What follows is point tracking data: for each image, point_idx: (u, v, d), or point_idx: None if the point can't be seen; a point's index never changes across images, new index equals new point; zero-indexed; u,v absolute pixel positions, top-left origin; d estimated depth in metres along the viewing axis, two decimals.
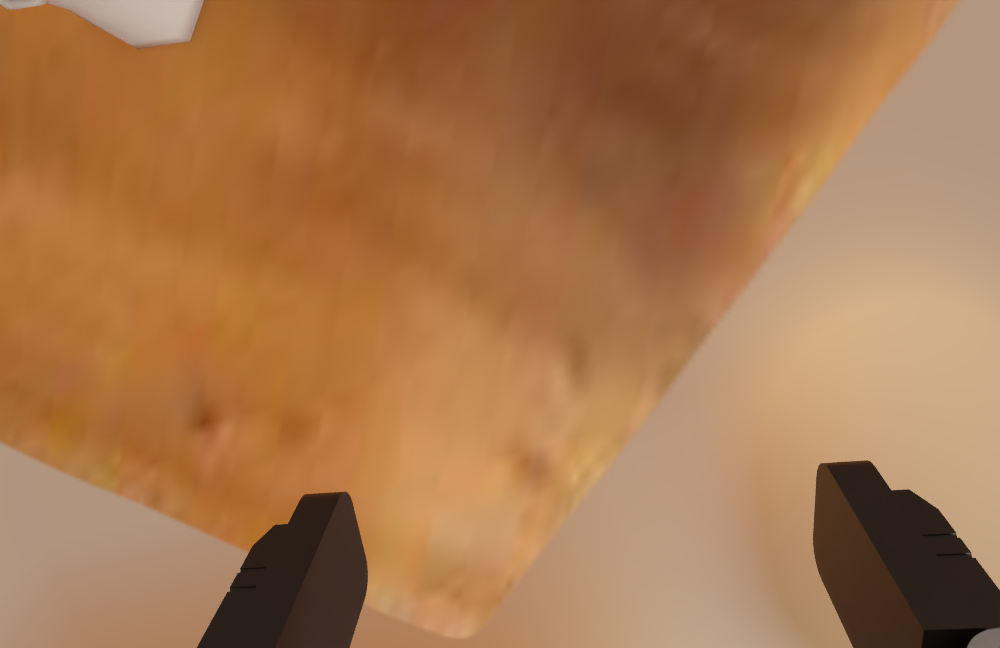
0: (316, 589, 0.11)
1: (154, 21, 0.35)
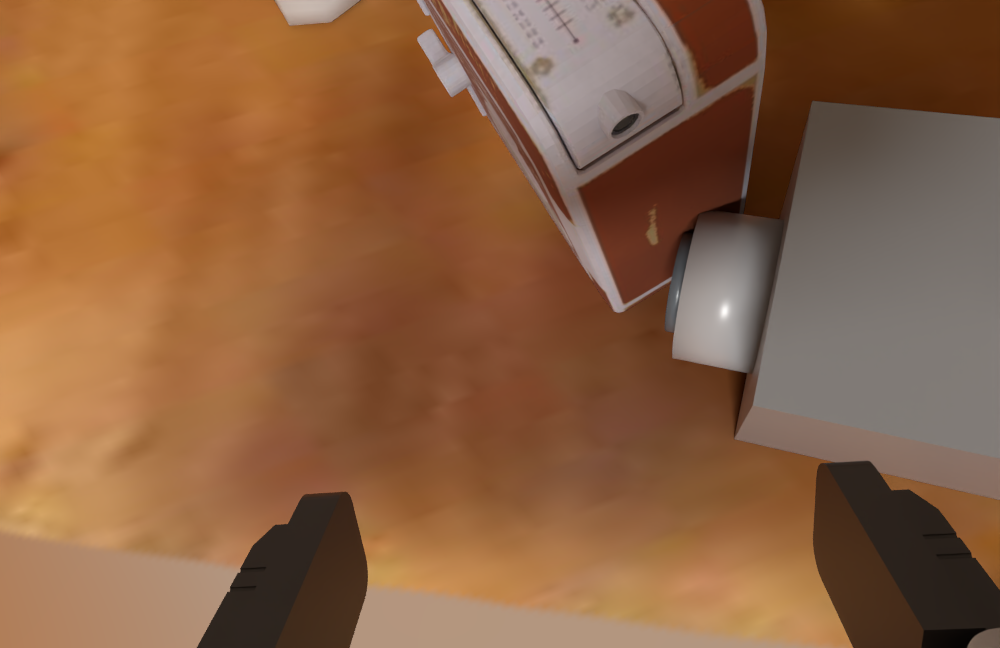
0: (316, 589, 0.11)
1: None
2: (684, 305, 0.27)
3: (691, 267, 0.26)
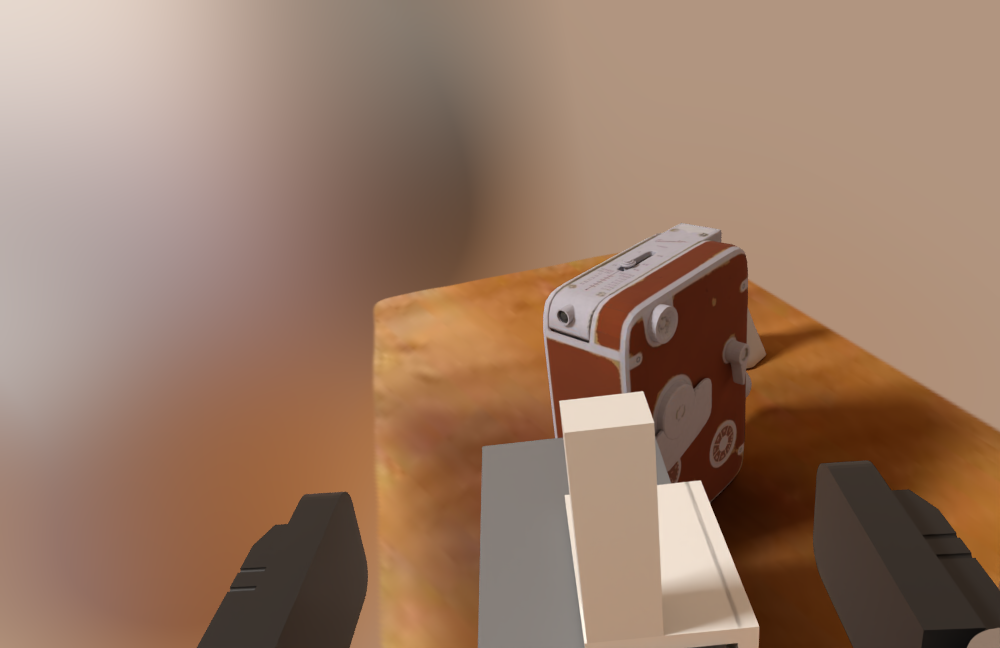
0: (316, 588, 0.11)
1: None
2: None
3: None
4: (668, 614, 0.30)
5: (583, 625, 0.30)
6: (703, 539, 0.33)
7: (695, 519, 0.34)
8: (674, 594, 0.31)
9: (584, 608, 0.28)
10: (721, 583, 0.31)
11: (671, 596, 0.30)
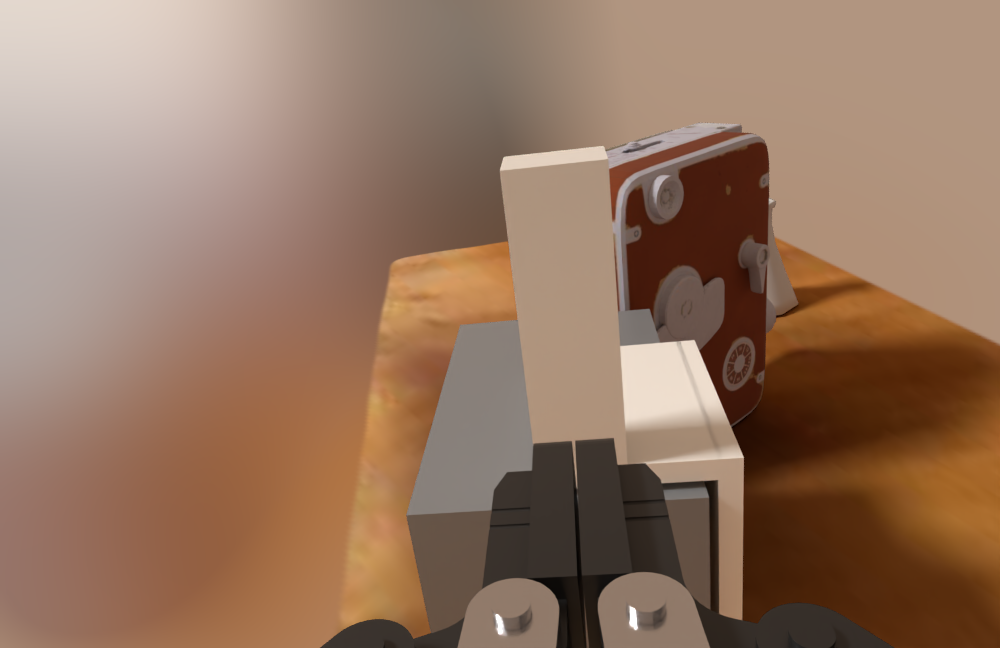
0: (576, 526, 0.12)
1: None
2: None
3: None
4: (636, 447, 0.25)
5: None
6: (689, 386, 0.28)
7: (682, 370, 0.30)
8: (647, 430, 0.26)
9: (531, 421, 0.24)
10: (704, 421, 0.26)
11: (643, 432, 0.26)
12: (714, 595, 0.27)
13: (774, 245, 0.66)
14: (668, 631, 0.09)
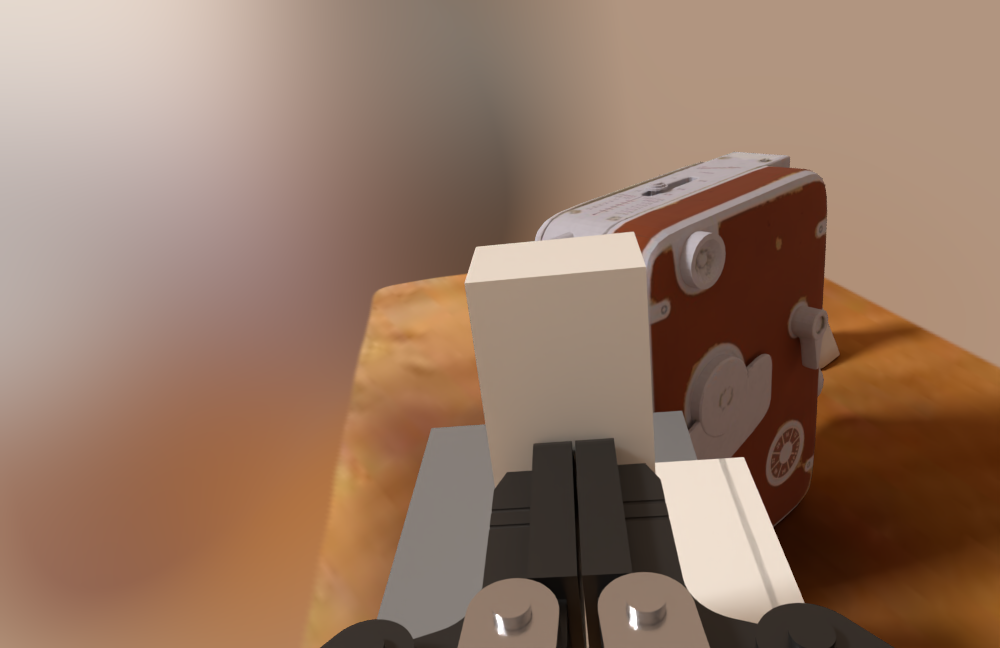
0: (576, 526, 0.12)
1: None
2: None
3: None
4: None
5: None
6: (745, 543, 0.20)
7: (733, 512, 0.21)
8: None
9: None
10: None
11: None
12: None
13: None
14: (668, 631, 0.09)
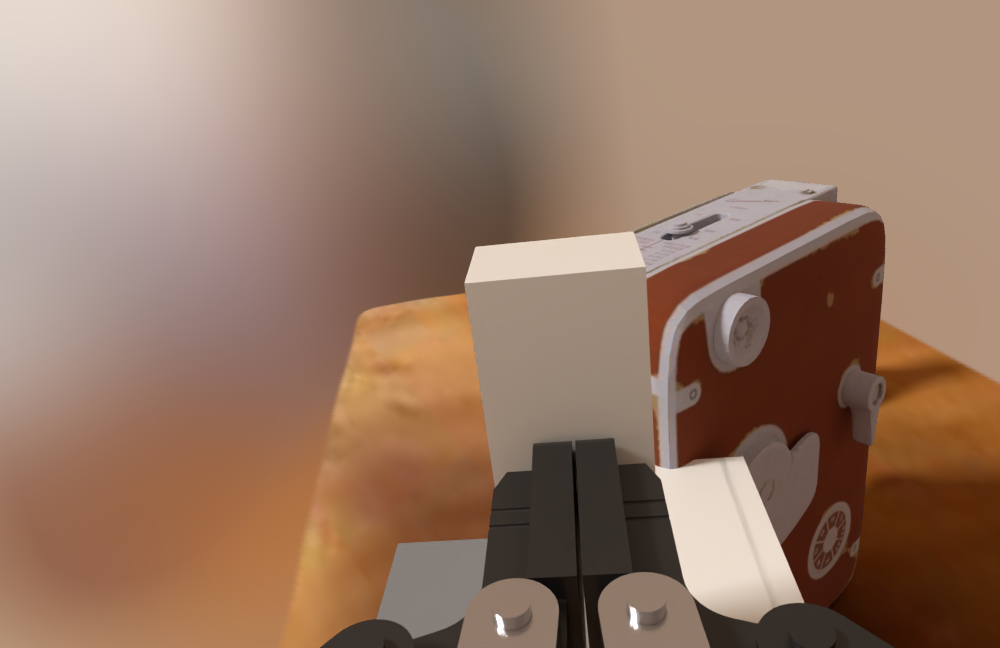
0: (576, 526, 0.12)
1: None
2: None
3: None
4: None
5: None
6: (744, 542, 0.20)
7: (732, 511, 0.21)
8: None
9: None
10: None
11: None
12: None
13: None
14: (668, 631, 0.09)
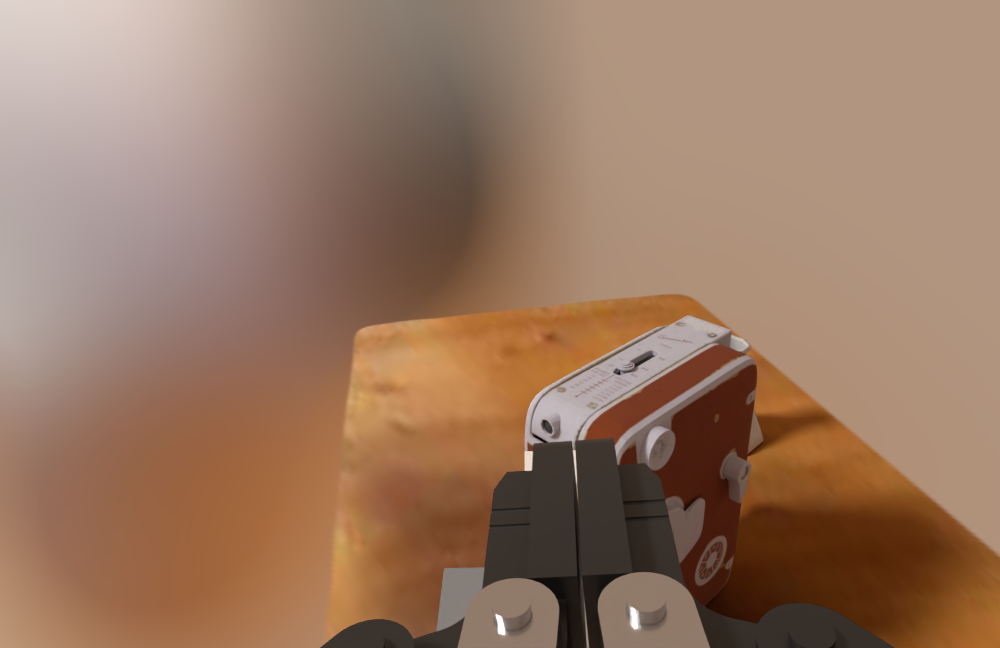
0: (576, 526, 0.12)
1: None
2: None
3: None
4: None
5: None
6: None
7: None
8: None
9: None
10: None
11: None
12: None
13: None
14: (668, 631, 0.09)
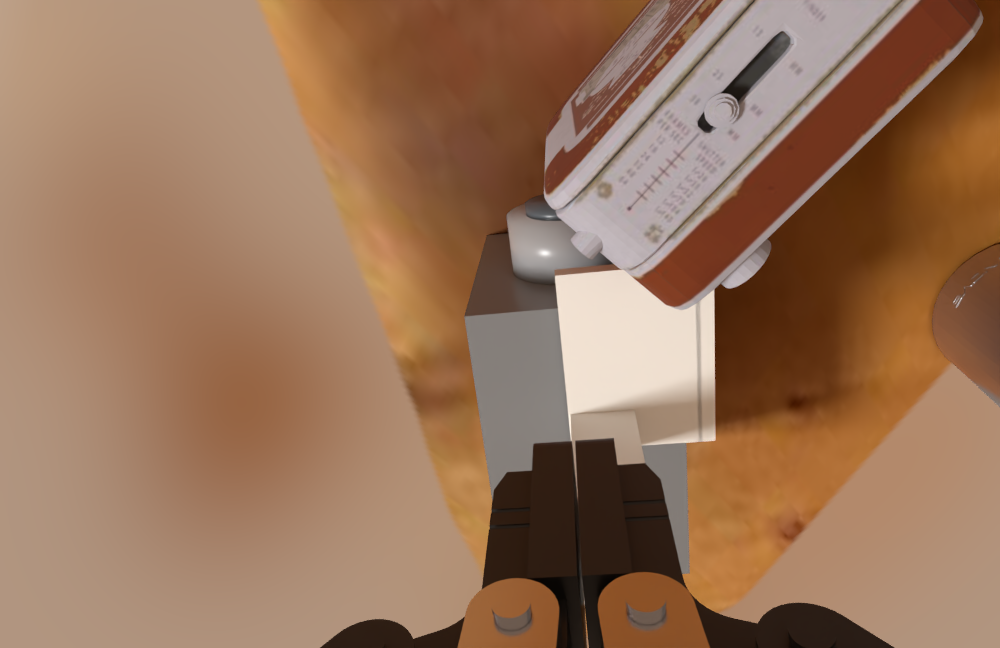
0: (577, 526, 0.12)
1: None
2: (534, 230, 0.36)
3: (561, 230, 0.36)
4: (644, 427, 0.35)
5: (571, 434, 0.35)
6: (694, 348, 0.33)
7: (693, 321, 0.33)
8: (652, 408, 0.34)
9: None
10: (697, 399, 0.34)
11: (649, 410, 0.35)
12: None
13: None
14: (668, 631, 0.09)
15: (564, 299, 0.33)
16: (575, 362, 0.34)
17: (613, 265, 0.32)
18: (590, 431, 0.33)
